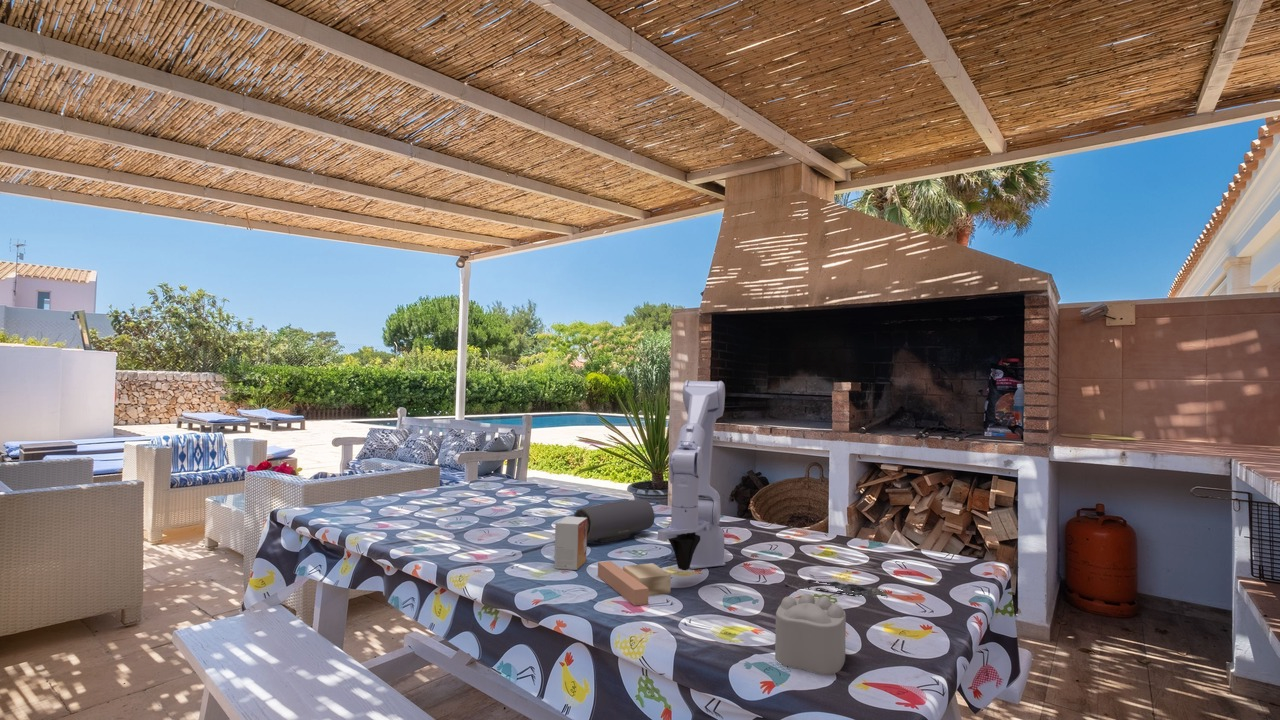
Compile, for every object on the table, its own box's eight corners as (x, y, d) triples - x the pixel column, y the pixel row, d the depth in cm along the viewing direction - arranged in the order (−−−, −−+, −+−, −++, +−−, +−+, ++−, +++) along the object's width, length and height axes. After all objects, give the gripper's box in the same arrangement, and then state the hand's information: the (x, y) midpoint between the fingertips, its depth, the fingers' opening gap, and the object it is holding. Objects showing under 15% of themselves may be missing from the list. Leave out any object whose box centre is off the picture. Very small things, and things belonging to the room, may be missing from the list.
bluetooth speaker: (633, 529, 186) (634, 495, 186) (655, 536, 179) (656, 500, 179) (570, 541, 170) (571, 504, 171) (591, 548, 163) (593, 509, 164)
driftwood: (888, 595, 135) (888, 585, 135) (887, 605, 128) (887, 594, 129) (790, 581, 143) (790, 572, 143) (784, 590, 137) (784, 580, 137)
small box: (577, 571, 144) (578, 524, 144) (553, 569, 145) (554, 522, 145) (587, 561, 152) (588, 517, 152) (564, 559, 153) (565, 515, 153)
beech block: (652, 581, 139) (652, 563, 139) (670, 594, 130) (670, 574, 130) (622, 584, 136) (622, 566, 136) (639, 598, 128) (639, 578, 128)
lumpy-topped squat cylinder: (769, 663, 99) (770, 607, 99) (788, 634, 110) (788, 584, 111) (838, 678, 94) (839, 619, 94) (850, 646, 106) (851, 594, 106)
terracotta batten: (610, 574, 142) (610, 561, 142) (648, 603, 124) (648, 588, 124) (597, 575, 141) (598, 562, 141) (634, 605, 122) (634, 590, 122)
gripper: (693, 498, 144) (691, 558, 144) (647, 506, 134) (646, 571, 134) (717, 503, 139) (716, 565, 139) (672, 512, 129) (670, 579, 129)
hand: (683, 569), depth 136 cm, fingers closed
